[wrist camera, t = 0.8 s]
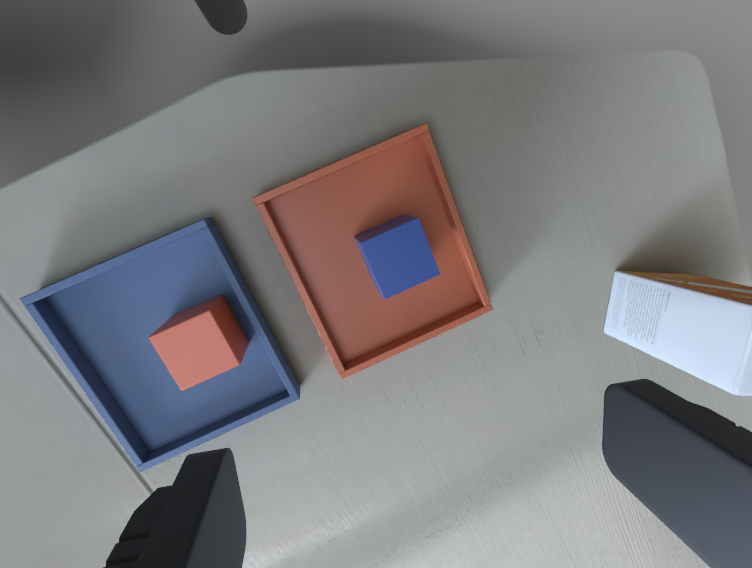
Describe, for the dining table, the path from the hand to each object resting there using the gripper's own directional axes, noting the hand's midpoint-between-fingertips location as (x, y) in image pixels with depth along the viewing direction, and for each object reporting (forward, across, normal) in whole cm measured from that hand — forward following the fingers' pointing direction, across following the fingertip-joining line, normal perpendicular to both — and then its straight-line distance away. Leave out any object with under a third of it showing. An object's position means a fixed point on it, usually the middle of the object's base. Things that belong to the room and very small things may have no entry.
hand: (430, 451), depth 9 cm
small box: (+27, -28, +8) cm, 40 cm away
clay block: (+26, +11, +5) cm, 29 cm away
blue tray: (+26, +14, +6) cm, 31 cm away
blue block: (+26, -4, 0) cm, 26 cm away
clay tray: (+26, -3, 0) cm, 27 cm away
